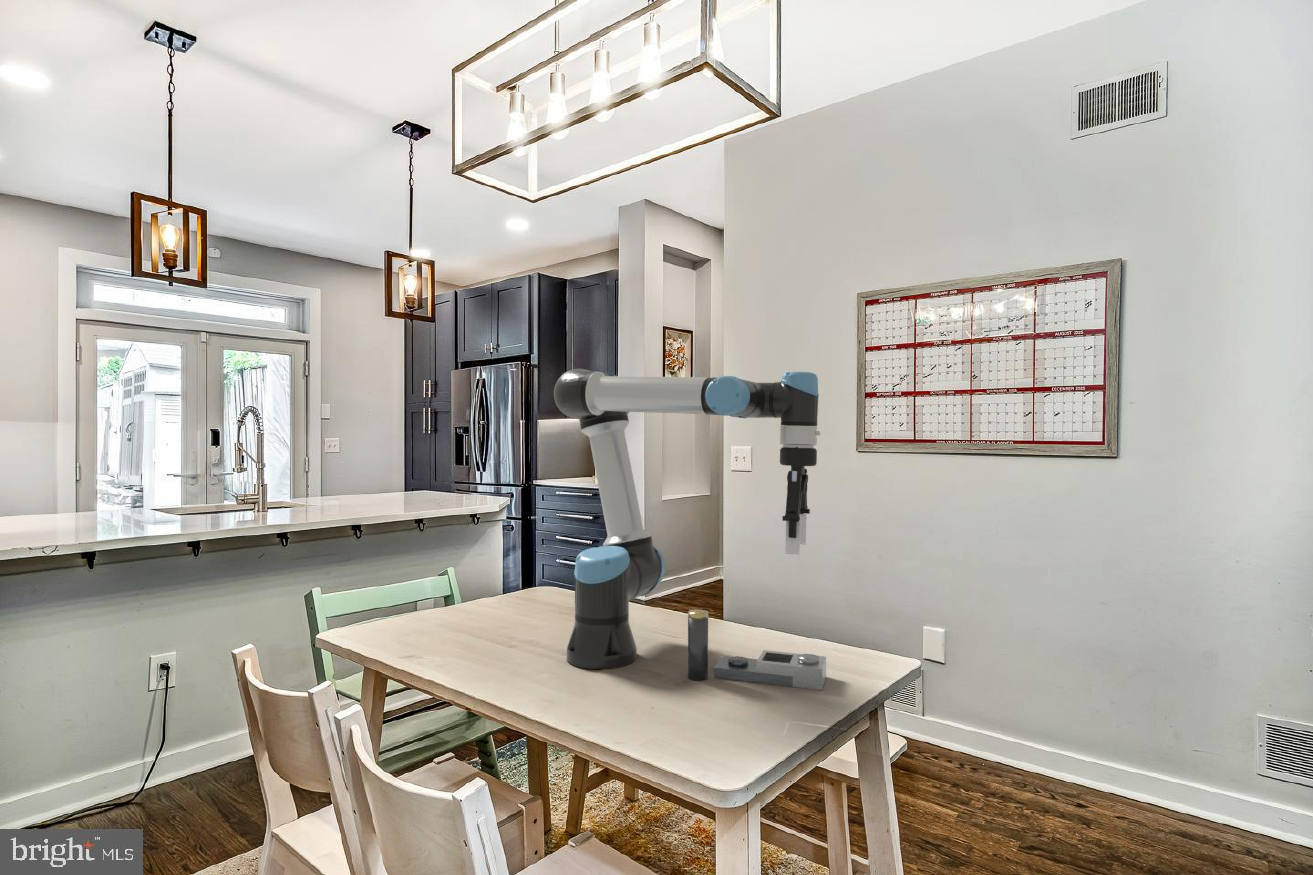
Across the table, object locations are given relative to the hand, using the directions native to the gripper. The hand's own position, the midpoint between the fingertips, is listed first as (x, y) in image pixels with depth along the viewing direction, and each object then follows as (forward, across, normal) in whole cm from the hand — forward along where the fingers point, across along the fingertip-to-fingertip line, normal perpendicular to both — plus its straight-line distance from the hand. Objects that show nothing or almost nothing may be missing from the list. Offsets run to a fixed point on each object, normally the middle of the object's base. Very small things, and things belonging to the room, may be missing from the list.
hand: (796, 548), depth 142 cm
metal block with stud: (+25, -8, +4) cm, 26 cm away
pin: (+25, -12, +17) cm, 33 cm away
